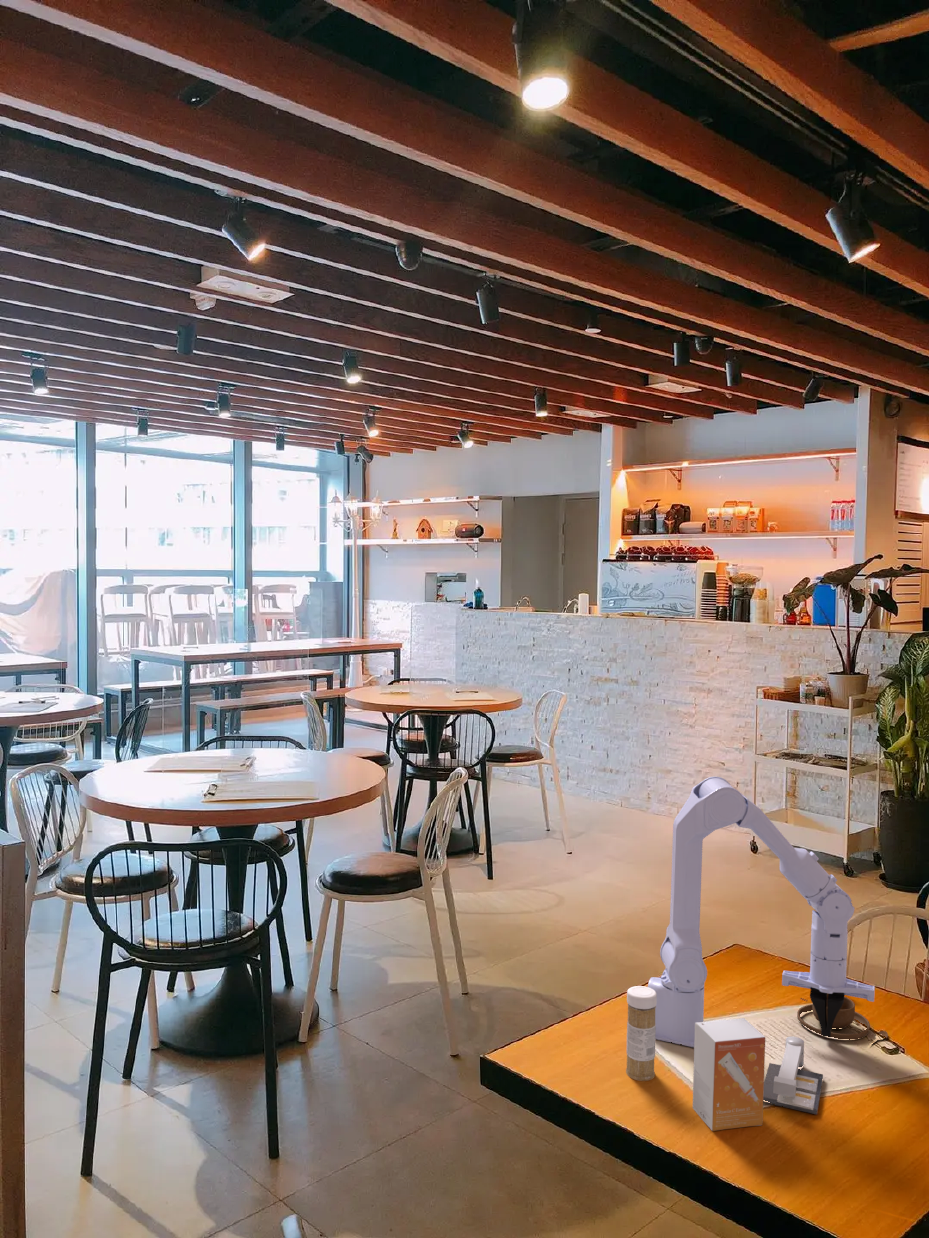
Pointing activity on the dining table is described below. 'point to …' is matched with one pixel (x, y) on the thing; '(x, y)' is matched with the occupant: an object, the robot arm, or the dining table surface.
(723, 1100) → the small box
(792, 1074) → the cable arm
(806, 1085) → the grey flat block
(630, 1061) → the sprinkles bottle
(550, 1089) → the dining table surface
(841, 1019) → the place setting
